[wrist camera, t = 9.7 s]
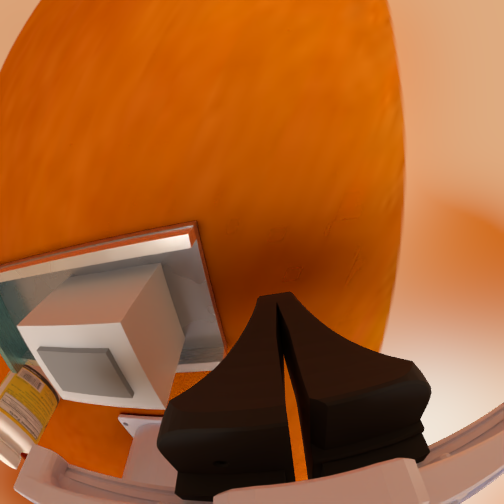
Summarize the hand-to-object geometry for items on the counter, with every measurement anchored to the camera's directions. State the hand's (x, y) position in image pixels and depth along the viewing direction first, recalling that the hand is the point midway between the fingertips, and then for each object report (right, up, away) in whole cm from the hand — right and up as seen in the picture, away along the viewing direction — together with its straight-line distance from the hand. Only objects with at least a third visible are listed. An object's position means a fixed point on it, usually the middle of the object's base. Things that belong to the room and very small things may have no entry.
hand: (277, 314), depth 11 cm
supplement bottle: (-21, -9, +7) cm, 24 cm away
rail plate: (-11, -1, +3) cm, 12 cm away
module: (-8, 0, +2) cm, 8 cm away
